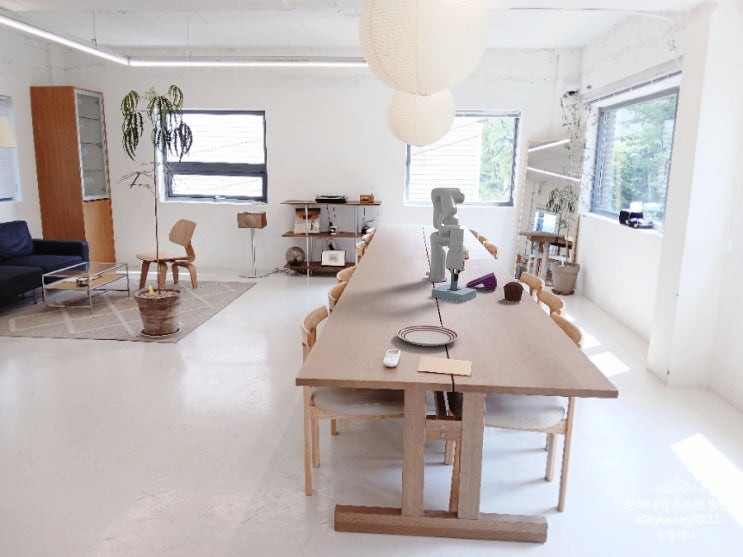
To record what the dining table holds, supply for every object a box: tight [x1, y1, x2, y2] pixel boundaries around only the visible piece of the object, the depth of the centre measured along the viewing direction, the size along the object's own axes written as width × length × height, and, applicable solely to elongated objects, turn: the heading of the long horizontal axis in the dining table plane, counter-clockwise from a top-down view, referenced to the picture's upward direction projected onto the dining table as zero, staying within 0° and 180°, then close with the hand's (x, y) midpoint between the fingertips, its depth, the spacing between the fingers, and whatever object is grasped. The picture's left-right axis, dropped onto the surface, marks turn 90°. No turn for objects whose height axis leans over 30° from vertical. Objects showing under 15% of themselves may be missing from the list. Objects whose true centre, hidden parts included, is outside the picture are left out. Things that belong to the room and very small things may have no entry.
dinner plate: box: [396, 324, 460, 347], centre depth 246 cm, size 27×27×3 cm
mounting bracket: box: [465, 271, 498, 291], centre depth 339 cm, size 9×8×18 cm
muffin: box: [502, 281, 525, 302], centre depth 314 cm, size 12×11×10 cm
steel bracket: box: [448, 272, 459, 291], centre depth 316 cm, size 4×5×10 cm
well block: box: [431, 283, 477, 304], centre depth 318 cm, size 20×16×4 cm
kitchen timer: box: [463, 239, 470, 261], centre depth 432 cm, size 14×14×15 cm
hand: (454, 280), depth 316 cm, fingers closed on steel bracket, 1 cm apart
